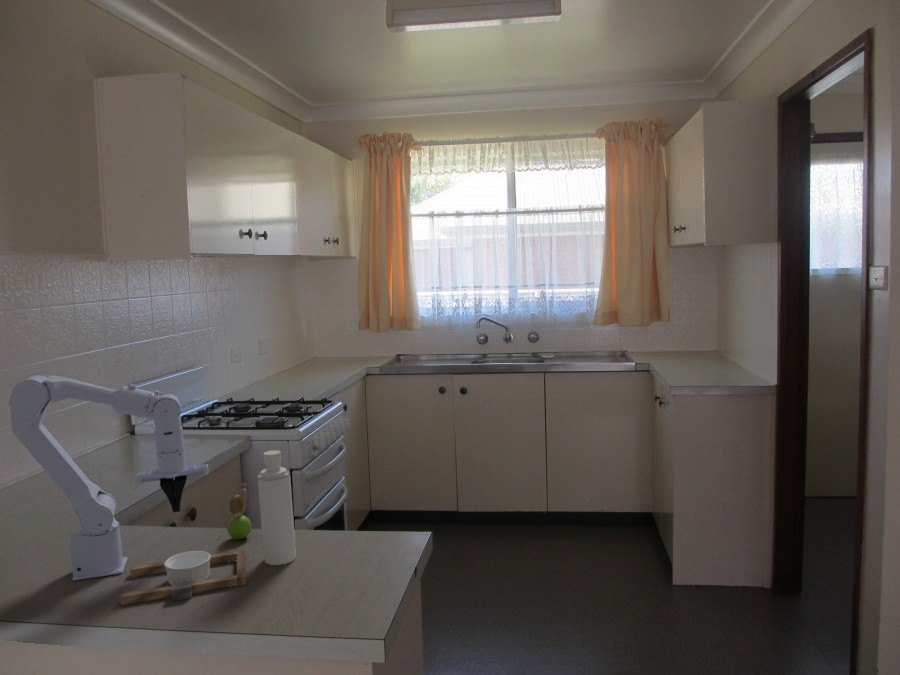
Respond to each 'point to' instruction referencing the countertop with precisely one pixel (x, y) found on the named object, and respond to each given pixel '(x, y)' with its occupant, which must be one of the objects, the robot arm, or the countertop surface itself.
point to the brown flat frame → (184, 588)
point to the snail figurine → (239, 517)
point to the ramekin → (188, 567)
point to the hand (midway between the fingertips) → (176, 510)
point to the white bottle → (276, 511)
